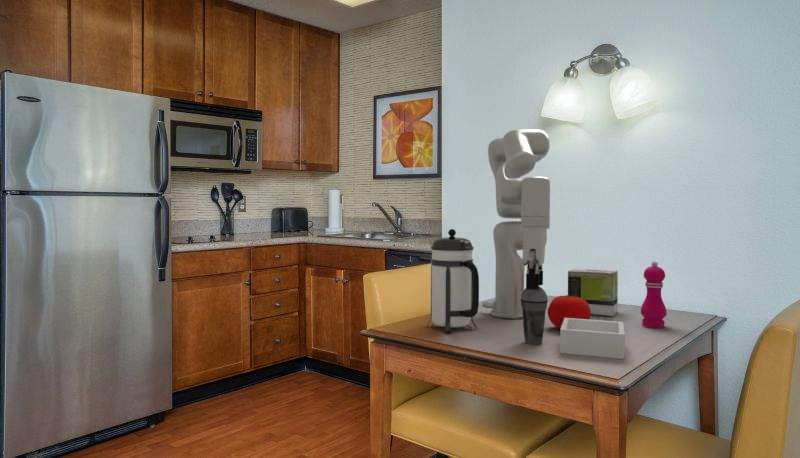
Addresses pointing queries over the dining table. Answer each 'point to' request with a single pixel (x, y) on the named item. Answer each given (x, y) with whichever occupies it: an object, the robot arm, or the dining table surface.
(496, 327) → the dining table surface
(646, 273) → the pepper mill
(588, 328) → the box
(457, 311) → the coffee press
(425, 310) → the dining table surface
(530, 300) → the beverage cup
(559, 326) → the tomato
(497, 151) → the robot arm
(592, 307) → the tea box
